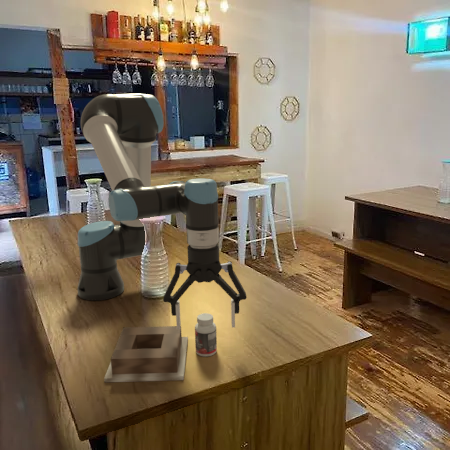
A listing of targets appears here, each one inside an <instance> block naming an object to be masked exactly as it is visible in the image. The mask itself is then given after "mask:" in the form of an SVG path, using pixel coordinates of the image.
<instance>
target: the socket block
mask: <svg viewBox="0 0 450 450" xmlns="http://www.w3.org/2000/svg"><path fill="white" fill-rule="evenodd" d="M182 335H183V334H182V325H180V329H177V325H173V326H172V325H171V326H170V325H166V326H164V325H163V326H160V325H159V326H131V327H130V326H128V327H127V326H126V327H122V330H121V332H120V335H119V338H118V340H117V343H116V345H115V346H114V350H113V352H112V355H111V357H110V362H109V365H108V368H107V369H106V373H105V375H104V377H103V381H104V383H126V382H127V383H128V382H133V383H134V382H161V381H167V382H168V381H184V380H185V369H186V361H187V353H186V352H187V350H188V341H189V337H188V336H182Z"/></svg>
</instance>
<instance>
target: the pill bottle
mask: <svg viewBox="0 0 450 450" xmlns="http://www.w3.org/2000/svg"><path fill="white" fill-rule="evenodd" d="M196 322H197V323H196V324H195V326H194V337H195V338H194V339H195V343H194V344H195V353H196V354H197V355H198V356H200V357H204V358H205V357H206V358H207V357H211V356H213V355H215V354H216V353H217V351H218V350H217V347H218V346H217V342H218V341H217V325H216V323H215V322H214V316H213V314H211V313H207V312H205V313H200V314H198V315H197V317H196Z"/></svg>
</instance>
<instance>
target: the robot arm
mask: <svg viewBox="0 0 450 450" xmlns="http://www.w3.org/2000/svg"><path fill="white" fill-rule="evenodd" d="M164 122H165V121H164V113H163V110H162V107H161V104H160V102H159V100H158V99H157V97H156V96H154V95H153V94H148V93H147V94H146V93H116V94H115V93H113V94H112V93H107V94H106V93H104V94H100V95H98V96H95V97H94V98H92V99H91V100H90V101H89V102H88V103H87V104H86V105H85V107H84V109H83V111H82V113H81V116H80V129H81V132H82V134H83V136H84V138H85V139H86V141H87V142H89V143H91V145H92V148H93V149H94V152H95V154H96V156H97V159H98V161H99V163H100V166H101V169H102V171H103V173H104V175H105V178H106V180H107V181H108V183H109V187H110V188H111V191H110V192H109V194H108V197H107V198H108V199H107V200H108V208H109V212H110V216H111V218H112V219H113V220H114V221H116V222H119V223H118V224H114V222H113V221H110V220H101V221H95V222H91V223H88V224H85V225H84V226H82V227H81V228H80V229H78V232H77V246H78V254H79V256H78V257H79V264H80V275H79V280H78V285H77V295H78V297H79V299H80V298H81V299H82V300H87V301H104V300H108V299H113V298H115V297H118V296H120V295H121V294H122V293H123V292H124V290H125V283H124V280H123V277H122V275H121V273H120V272H119V271H120V270H119V269H118V264H117V261H118V260H123V259H129V258H134V257H140V256H143V255H142V252H143V249H144V245H145V231H144V226H143V224H142V223H141V222H140V220H139V219H143V218H150V217H157V218H158V217H163V216H171V215H178V214H182V215H185V221H186V224H185V225H186V243H187V244H188V246H187V264H181V263H180V262H176V264H175V266H174V267H175V268H174V274H173V275H172V279H171V280H170V282H169V284H168V287H167V288H166V291H165V293H164V296H163V299H162V301H163V302H164V303H169V304H170V308H171V309H170V311H171V313H170V314H171V315H172V316H175V320H176V321H175V322H176V326H177V329H180V326H182V325H181V322H182V321H181V305H180V304H181V303H180V299H181V298H182V296H183V295H184V294H185V292H187V290H188V289H190V287H191V286H192V285H193V284H194V282H197V283H198V284H199V283H200V284H201V283H204V282H205V283H211V282H213V281H214V282H215V284H217V285H218V286H219V287H220V288H221V289H222V290H223V291H224V292H225V293H226V294H227V295H228V296H229V297H230V306H231V307H230V309H231V312H230V314H231V315H230V316H231V328H236V314H239V313H240V302H241V301H243V300H246V299H247V298H248V297H247V292H246V290H245V289H244V287H243V285H242V283H241V282H240V280H239V278H238V276H237V275H236V272H235V271H234V269H233V263H232V261H231V260H229V261H227V262H225V263H221V262H220V246H219V242H220V240H219V239H220V238H219V237H220V236H219V235H220V234H219V231H220V230H219V194H218V184H217V182H216V180H214V179H213V178H206V177H205V178H203V177H202V178H200V177H199V178H192V179H188V180H186V182H185V181H183V180H174V181H173V180H172V182H169V183H168V184H167V183H166V184H160V185H151V184H152V182H151V181H152V179H151V178H152V177H151V175H152V145H153V144H154V143H155V142H156V141H157V134H160V133H161V132H162V131H163V128H164V125H165V124H164ZM221 270H224V272H225V273H228V276H229V279H230V280H231V282H232V283H233V285H234V287H235V288H236V291H237V292H236V291H235V290H234V289H233V288H232V287H231V286H230V284H228V282H226V279H224V278H223V277H222V275H220V272H221ZM184 271H186V272H187V273H188V274H189V275H188V277H187V278H186V279H185V280H184V282H183V283H182V284H181V285H180V286H179V288H178V289H177V290H176V292H174V293H173V291H174V290H175V287H176V285H177V283H178V281H179V278H180V275H181V274H183V273H184ZM172 293H173V295H172Z"/></svg>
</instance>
